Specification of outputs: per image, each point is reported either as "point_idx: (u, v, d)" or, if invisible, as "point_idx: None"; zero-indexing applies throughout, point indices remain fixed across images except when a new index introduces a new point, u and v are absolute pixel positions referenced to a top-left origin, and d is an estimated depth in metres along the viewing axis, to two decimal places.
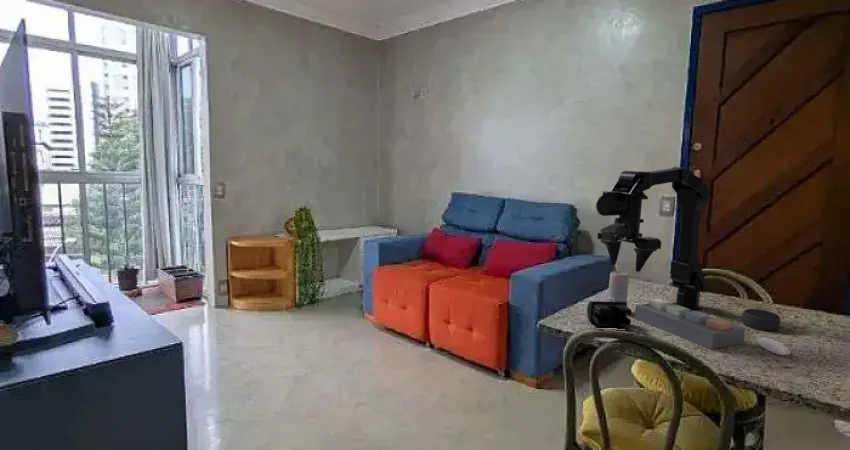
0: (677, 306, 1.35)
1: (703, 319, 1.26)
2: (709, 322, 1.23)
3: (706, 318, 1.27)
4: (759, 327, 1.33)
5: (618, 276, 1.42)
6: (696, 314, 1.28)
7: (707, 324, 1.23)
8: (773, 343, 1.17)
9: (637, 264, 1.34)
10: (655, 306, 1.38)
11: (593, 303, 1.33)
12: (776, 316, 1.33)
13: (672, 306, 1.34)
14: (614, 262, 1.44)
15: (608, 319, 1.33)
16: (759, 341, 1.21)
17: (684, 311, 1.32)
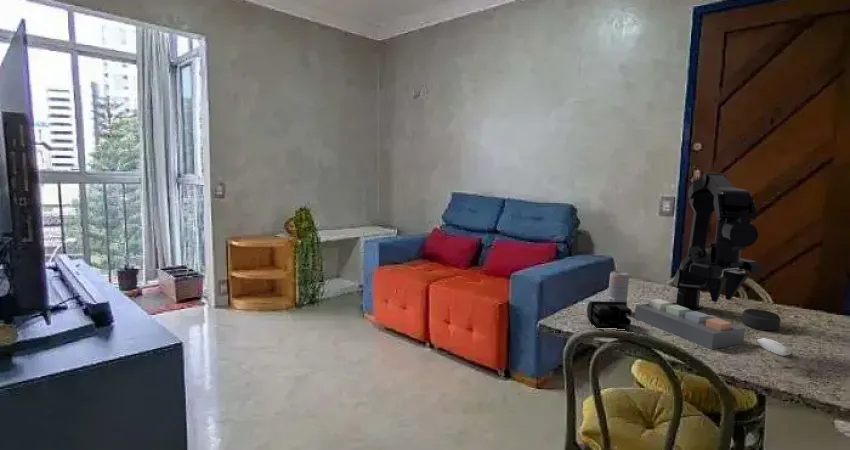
0: (677, 306, 1.35)
1: (703, 319, 1.26)
2: (709, 322, 1.23)
3: (706, 318, 1.27)
4: (759, 327, 1.33)
5: (618, 276, 1.42)
6: (696, 314, 1.28)
7: (707, 324, 1.23)
8: (773, 343, 1.17)
9: None
10: (655, 306, 1.38)
11: (593, 303, 1.33)
12: (776, 316, 1.33)
13: (672, 306, 1.34)
14: (728, 297, 1.23)
15: (608, 319, 1.33)
16: (759, 341, 1.20)
17: (684, 311, 1.32)
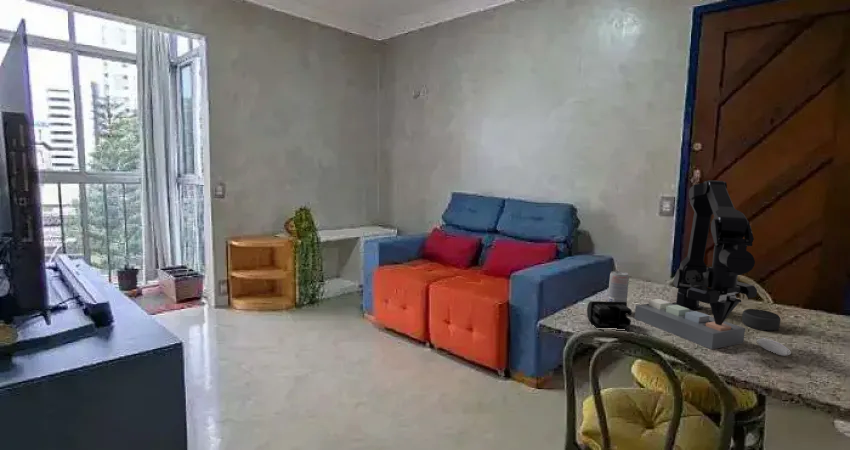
0: (677, 306, 1.35)
1: (703, 319, 1.26)
2: (709, 325, 1.23)
3: (706, 318, 1.27)
4: (759, 327, 1.33)
5: (618, 276, 1.42)
6: (696, 314, 1.28)
7: None
8: (774, 343, 1.17)
9: None
10: (655, 306, 1.38)
11: (593, 303, 1.33)
12: (776, 316, 1.33)
13: (672, 306, 1.34)
14: None
15: (608, 319, 1.33)
16: (759, 341, 1.20)
17: (684, 311, 1.32)
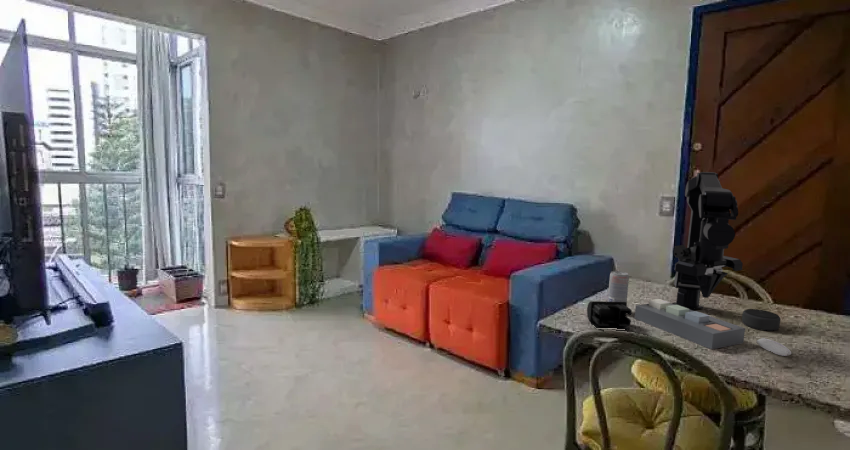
0: (677, 306, 1.35)
1: (703, 319, 1.26)
2: None
3: (706, 318, 1.27)
4: (759, 327, 1.33)
5: (618, 276, 1.42)
6: (696, 314, 1.28)
7: None
8: (774, 344, 1.17)
9: None
10: (655, 306, 1.38)
11: (593, 303, 1.33)
12: (776, 316, 1.33)
13: (672, 306, 1.34)
14: None
15: (608, 319, 1.33)
16: (759, 342, 1.20)
17: (684, 311, 1.32)
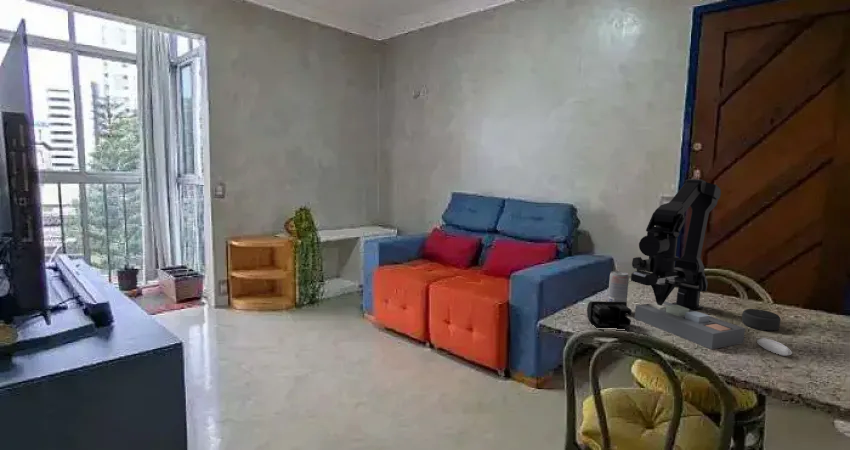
0: (677, 306, 1.35)
1: (703, 319, 1.26)
2: None
3: (706, 318, 1.27)
4: (759, 327, 1.33)
5: (618, 276, 1.43)
6: (696, 314, 1.28)
7: None
8: (775, 344, 1.17)
9: None
10: None
11: (593, 303, 1.33)
12: (776, 316, 1.33)
13: (672, 306, 1.34)
14: None
15: (608, 319, 1.33)
16: (760, 342, 1.20)
17: (684, 311, 1.32)
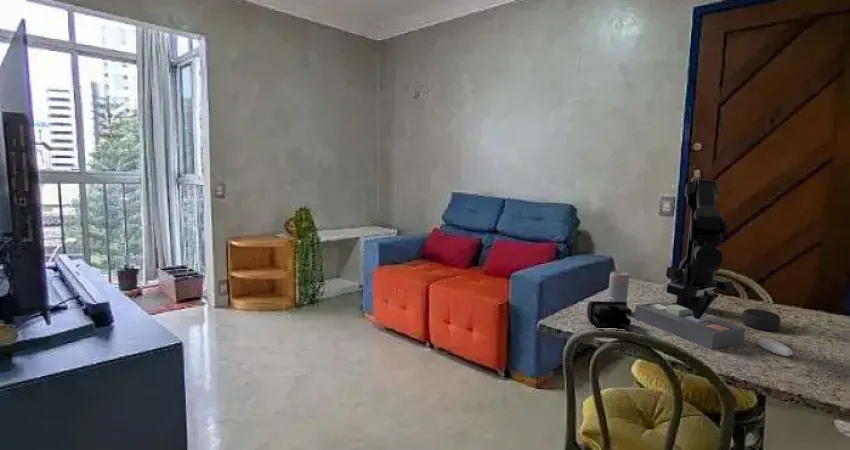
0: (677, 306, 1.35)
1: None
2: None
3: (705, 322, 1.27)
4: (759, 327, 1.33)
5: (618, 276, 1.43)
6: None
7: None
8: (775, 344, 1.16)
9: None
10: None
11: (593, 303, 1.33)
12: (776, 316, 1.33)
13: (672, 306, 1.34)
14: None
15: (608, 319, 1.33)
16: (760, 342, 1.20)
17: (684, 311, 1.32)
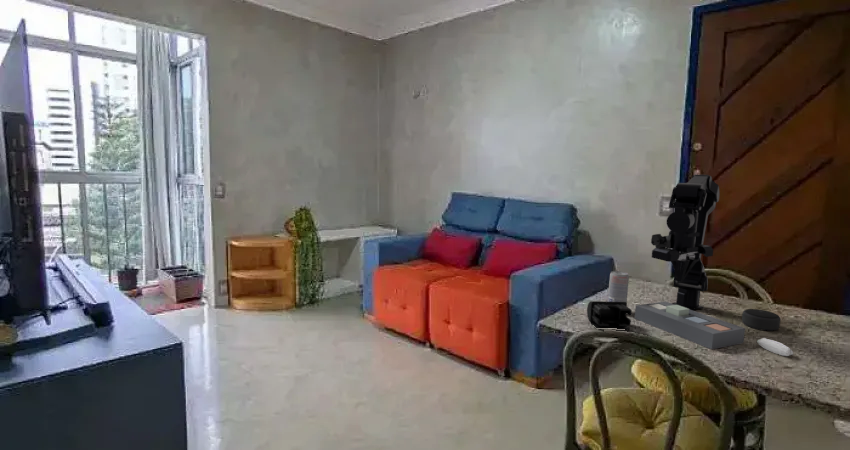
0: (677, 306, 1.35)
1: None
2: None
3: None
4: (759, 327, 1.33)
5: (618, 276, 1.43)
6: (696, 319, 1.28)
7: None
8: (776, 344, 1.16)
9: None
10: None
11: (593, 303, 1.33)
12: (776, 316, 1.33)
13: (672, 306, 1.34)
14: None
15: (608, 319, 1.33)
16: (760, 342, 1.20)
17: (684, 311, 1.32)
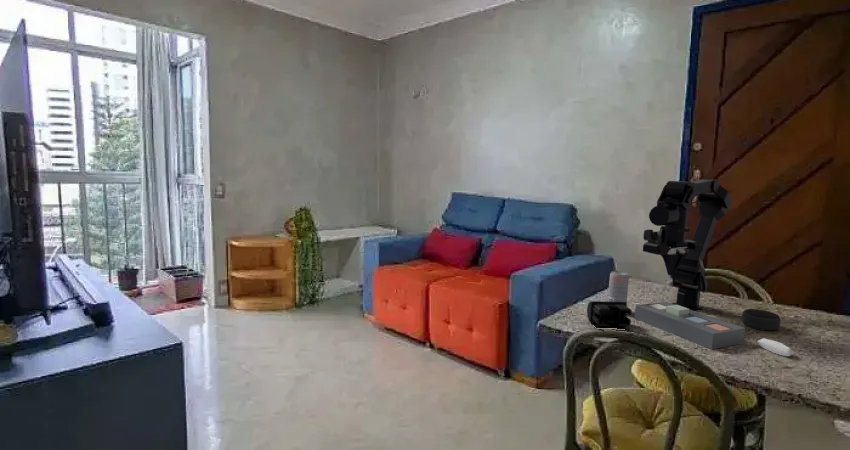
0: (677, 306, 1.35)
1: None
2: None
3: None
4: (759, 327, 1.33)
5: (618, 276, 1.43)
6: (696, 319, 1.28)
7: None
8: (776, 344, 1.16)
9: None
10: None
11: (593, 303, 1.33)
12: (776, 316, 1.33)
13: (672, 306, 1.34)
14: None
15: (608, 319, 1.33)
16: (760, 342, 1.20)
17: (684, 311, 1.32)
